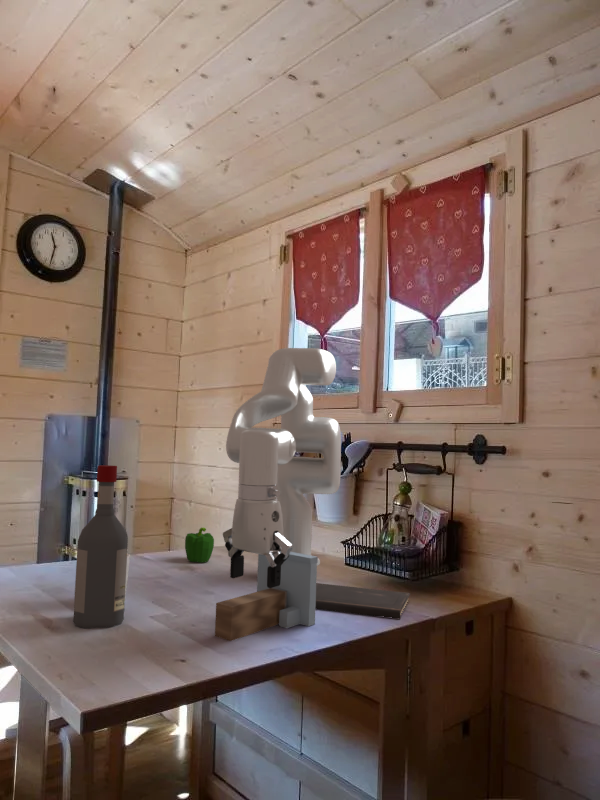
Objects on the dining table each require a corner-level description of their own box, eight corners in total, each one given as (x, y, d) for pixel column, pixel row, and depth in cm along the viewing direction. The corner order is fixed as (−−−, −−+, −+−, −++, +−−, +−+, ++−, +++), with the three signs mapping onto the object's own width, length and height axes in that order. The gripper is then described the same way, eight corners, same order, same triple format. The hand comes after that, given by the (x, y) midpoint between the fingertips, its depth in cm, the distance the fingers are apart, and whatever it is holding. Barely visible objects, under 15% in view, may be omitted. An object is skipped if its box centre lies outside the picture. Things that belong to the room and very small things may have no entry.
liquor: (72, 629, 113) (81, 466, 115) (75, 615, 122) (84, 464, 123) (123, 627, 115) (131, 467, 117) (123, 613, 124) (131, 465, 126)
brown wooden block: (270, 617, 125) (271, 587, 125) (285, 621, 122) (286, 591, 123) (214, 636, 112) (216, 602, 112) (230, 641, 110) (232, 607, 110)
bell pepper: (182, 559, 180) (184, 524, 180) (210, 558, 182) (211, 524, 183) (185, 565, 172) (187, 529, 172) (215, 564, 174) (216, 528, 175)
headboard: (263, 609, 130) (265, 546, 131) (315, 623, 122) (317, 556, 122) (242, 615, 125) (245, 550, 126) (296, 630, 117) (298, 560, 118)
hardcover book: (314, 592, 149) (315, 582, 149) (409, 603, 142) (410, 593, 142) (294, 609, 134) (295, 598, 134) (400, 622, 127) (400, 610, 127)
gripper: (304, 496, 117) (301, 586, 116) (239, 487, 127) (236, 570, 127) (278, 499, 111) (275, 594, 110) (212, 490, 122) (209, 576, 121)
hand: (254, 581), depth 119 cm, fingers open, 9 cm apart
